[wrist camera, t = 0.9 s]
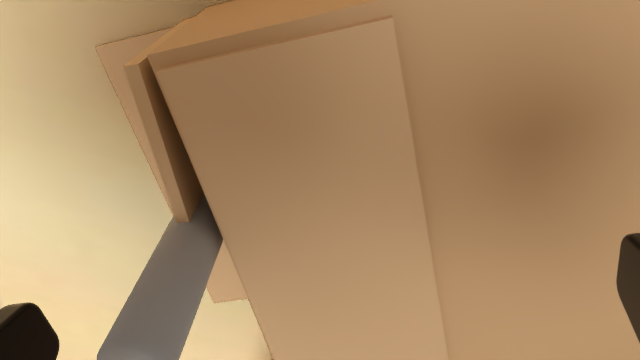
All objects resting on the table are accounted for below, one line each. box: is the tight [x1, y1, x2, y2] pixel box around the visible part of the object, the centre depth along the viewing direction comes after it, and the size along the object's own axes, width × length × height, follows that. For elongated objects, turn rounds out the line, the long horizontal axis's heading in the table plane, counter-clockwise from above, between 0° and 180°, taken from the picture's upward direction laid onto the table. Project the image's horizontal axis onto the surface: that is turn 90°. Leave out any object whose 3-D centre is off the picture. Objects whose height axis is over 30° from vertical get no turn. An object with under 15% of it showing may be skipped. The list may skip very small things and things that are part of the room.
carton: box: [95, 0, 640, 360], centre depth 19 cm, size 20×19×6 cm
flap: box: [97, 18, 223, 360], centre depth 15 cm, size 7×2×10 cm, turn 8°
